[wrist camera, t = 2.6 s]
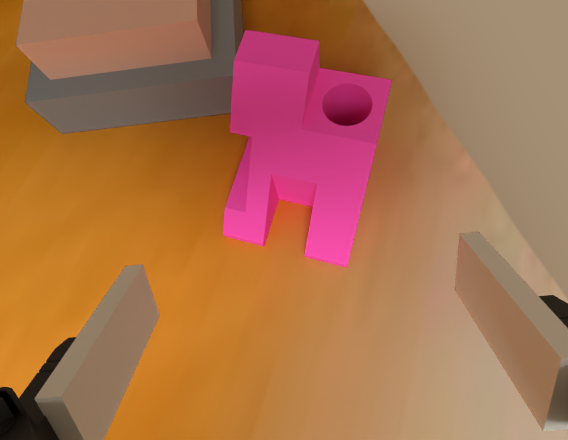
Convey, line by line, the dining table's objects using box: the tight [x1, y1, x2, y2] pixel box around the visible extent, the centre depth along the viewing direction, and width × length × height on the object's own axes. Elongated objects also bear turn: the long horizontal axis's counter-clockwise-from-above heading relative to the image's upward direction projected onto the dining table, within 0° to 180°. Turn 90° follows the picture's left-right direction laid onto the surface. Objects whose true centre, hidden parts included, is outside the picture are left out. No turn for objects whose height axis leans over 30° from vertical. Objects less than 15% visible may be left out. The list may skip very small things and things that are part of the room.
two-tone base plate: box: [16, 0, 243, 134], centre depth 36 cm, size 18×20×9 cm
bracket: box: [223, 30, 392, 267], centre depth 29 cm, size 12×10×10 cm
